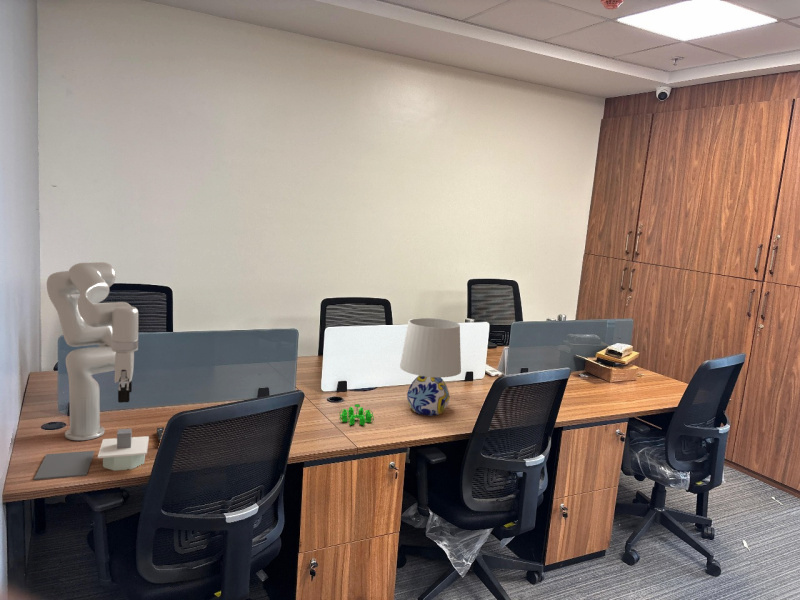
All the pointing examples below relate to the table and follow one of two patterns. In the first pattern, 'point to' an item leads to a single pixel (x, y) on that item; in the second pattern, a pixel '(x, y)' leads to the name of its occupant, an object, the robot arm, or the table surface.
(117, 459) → the bowl
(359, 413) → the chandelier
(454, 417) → the table surface
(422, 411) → the table lamp
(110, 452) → the lid
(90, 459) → the mat
